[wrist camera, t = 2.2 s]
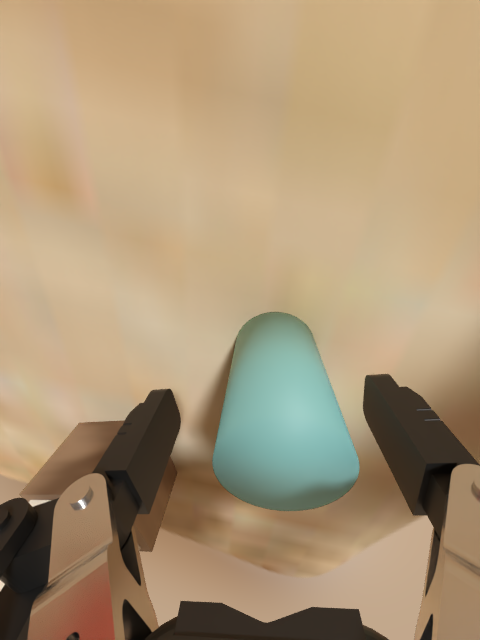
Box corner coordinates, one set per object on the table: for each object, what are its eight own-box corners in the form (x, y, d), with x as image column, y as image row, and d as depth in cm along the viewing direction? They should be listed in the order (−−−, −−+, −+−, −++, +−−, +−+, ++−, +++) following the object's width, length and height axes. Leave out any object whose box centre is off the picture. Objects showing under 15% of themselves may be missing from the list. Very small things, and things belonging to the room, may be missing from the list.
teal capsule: (313, 307, 12) (363, 414, 6) (315, 375, 14) (356, 511, 8) (229, 316, 13) (197, 421, 7) (242, 381, 15) (226, 510, 9)
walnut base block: (155, 418, 17) (116, 494, 13) (177, 472, 20) (152, 551, 15) (80, 422, 18) (19, 494, 14) (110, 472, 21) (67, 548, 16)
